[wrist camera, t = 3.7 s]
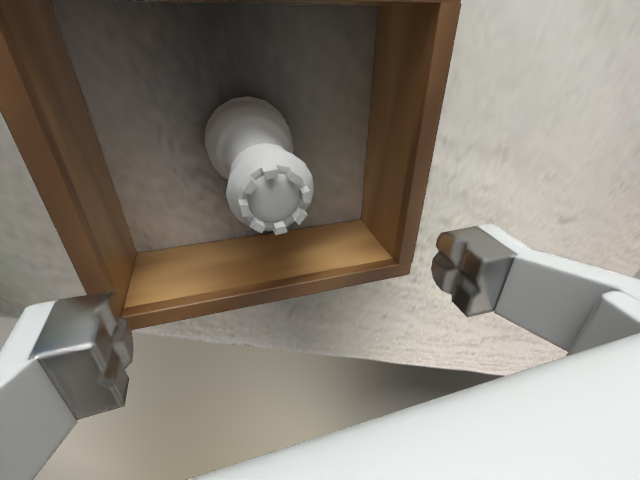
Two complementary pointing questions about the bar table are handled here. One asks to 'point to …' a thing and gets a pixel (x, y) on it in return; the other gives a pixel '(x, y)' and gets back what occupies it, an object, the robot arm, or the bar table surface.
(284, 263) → the open wooden box
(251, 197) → the rook chess piece
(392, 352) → the bar table surface
